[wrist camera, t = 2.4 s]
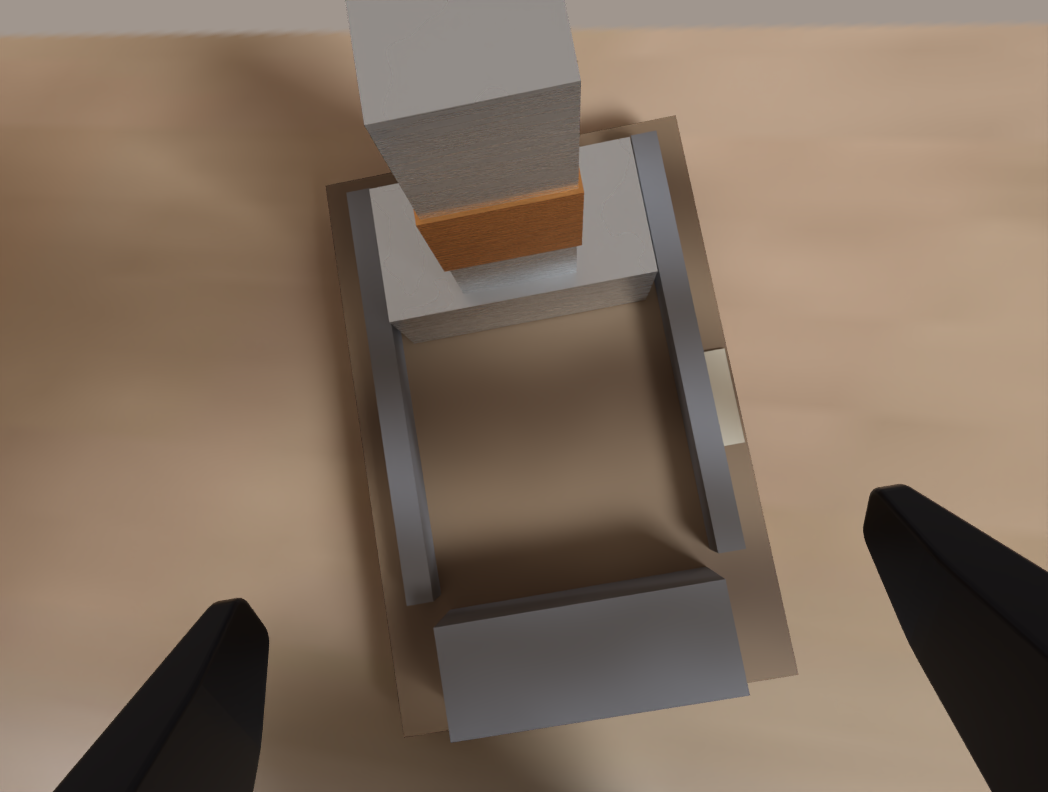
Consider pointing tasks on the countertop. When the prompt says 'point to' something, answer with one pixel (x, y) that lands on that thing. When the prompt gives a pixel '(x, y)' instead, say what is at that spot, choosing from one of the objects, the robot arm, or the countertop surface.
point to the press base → (564, 491)
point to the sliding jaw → (491, 169)
